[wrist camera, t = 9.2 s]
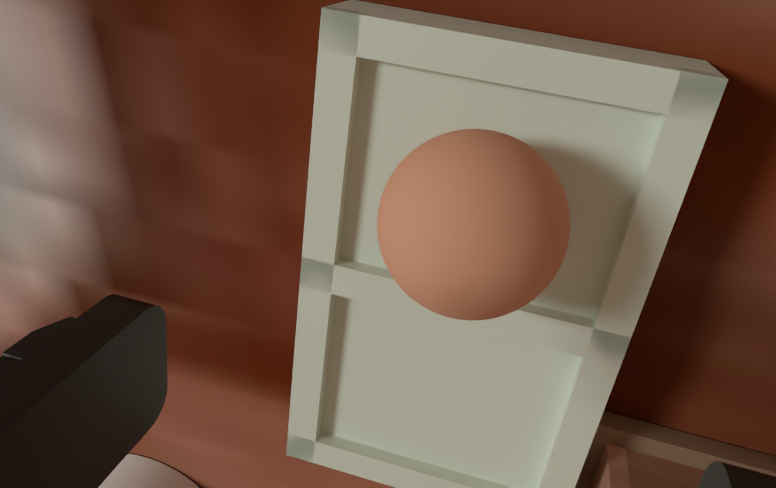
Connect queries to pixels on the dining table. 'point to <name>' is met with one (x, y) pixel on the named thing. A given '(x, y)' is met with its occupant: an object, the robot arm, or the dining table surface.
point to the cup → (145, 475)
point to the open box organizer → (658, 456)
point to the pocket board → (519, 328)
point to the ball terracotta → (473, 224)
